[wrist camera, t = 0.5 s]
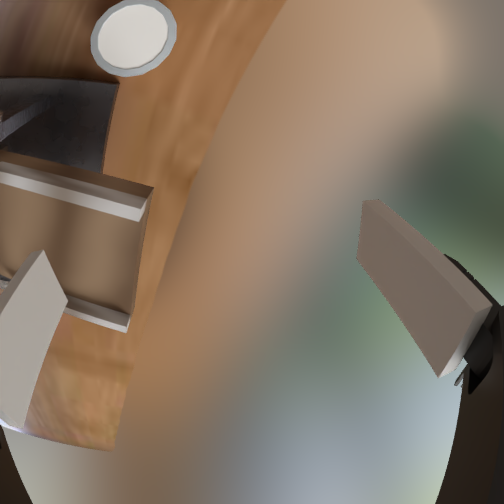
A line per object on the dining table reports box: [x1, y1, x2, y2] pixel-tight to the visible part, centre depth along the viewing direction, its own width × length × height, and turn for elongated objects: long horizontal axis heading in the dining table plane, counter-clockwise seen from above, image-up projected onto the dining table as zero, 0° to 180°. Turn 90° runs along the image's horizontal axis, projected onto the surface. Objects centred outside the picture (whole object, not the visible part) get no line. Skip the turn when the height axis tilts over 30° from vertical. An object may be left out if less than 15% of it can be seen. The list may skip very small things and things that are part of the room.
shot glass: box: [91, 0, 177, 77], centre depth 18 cm, size 7×7×7 cm
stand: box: [0, 76, 120, 289], centre depth 20 cm, size 16×18×13 cm
